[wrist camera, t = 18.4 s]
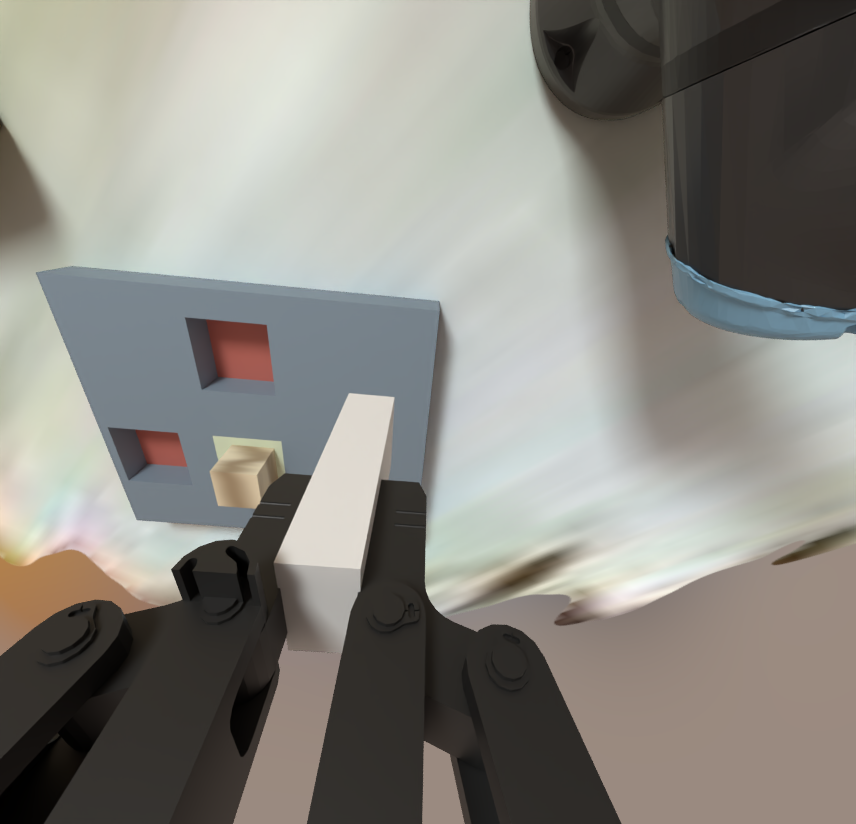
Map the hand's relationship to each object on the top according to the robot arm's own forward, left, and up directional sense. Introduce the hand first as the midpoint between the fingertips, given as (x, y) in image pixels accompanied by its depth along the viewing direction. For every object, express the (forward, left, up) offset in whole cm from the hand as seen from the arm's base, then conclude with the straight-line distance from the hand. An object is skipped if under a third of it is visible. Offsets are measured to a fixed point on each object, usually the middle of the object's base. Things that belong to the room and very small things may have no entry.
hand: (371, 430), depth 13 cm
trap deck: (+16, +18, -29) cm, 38 cm away
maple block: (+18, +23, -25) cm, 38 cm away
